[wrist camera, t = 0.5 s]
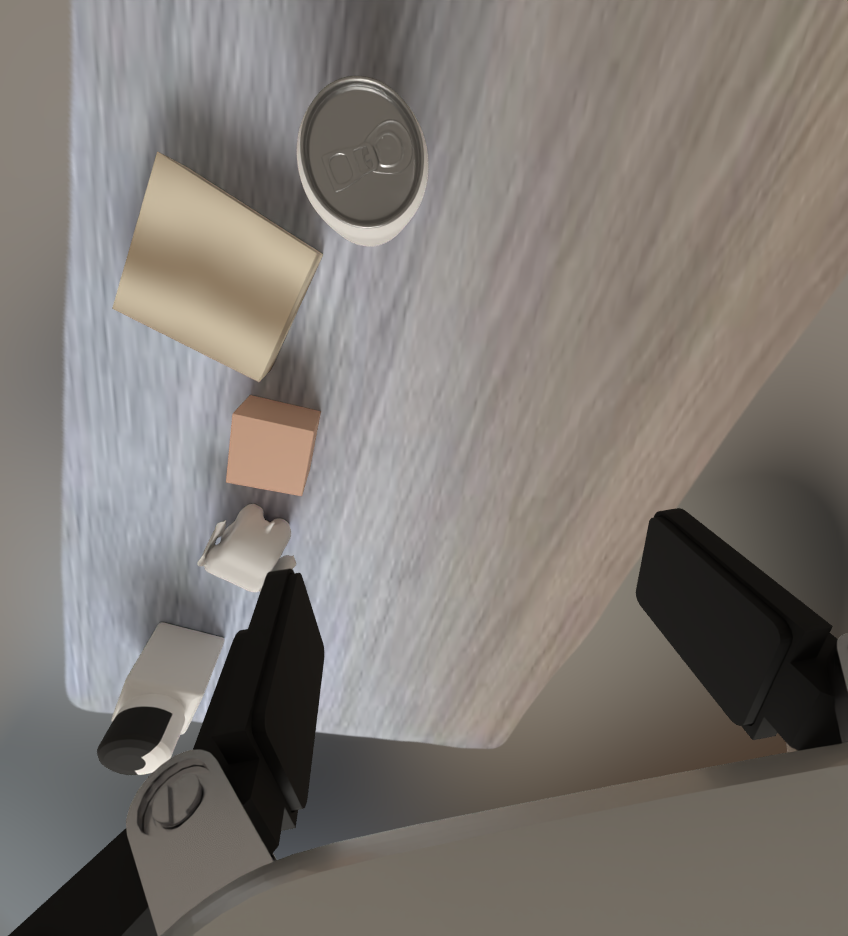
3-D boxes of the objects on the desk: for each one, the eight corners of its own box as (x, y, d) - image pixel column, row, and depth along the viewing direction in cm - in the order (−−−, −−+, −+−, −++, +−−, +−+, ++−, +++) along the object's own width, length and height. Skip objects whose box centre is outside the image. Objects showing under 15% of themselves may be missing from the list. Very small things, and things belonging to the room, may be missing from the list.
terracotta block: (250, 394, 35) (232, 413, 30) (321, 410, 36) (313, 431, 31) (243, 456, 37) (226, 482, 33) (309, 469, 38) (301, 496, 34)
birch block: (185, 165, 27) (157, 151, 24) (323, 254, 30) (316, 253, 27) (142, 303, 30) (112, 308, 27) (270, 369, 34) (259, 382, 30)
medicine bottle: (144, 661, 47) (77, 778, 36) (160, 620, 44) (93, 732, 34) (208, 675, 49) (162, 789, 38) (226, 636, 47) (183, 747, 36)
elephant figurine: (196, 545, 41) (164, 597, 34) (246, 478, 38) (221, 521, 32) (265, 578, 43) (247, 632, 37) (316, 518, 41) (306, 564, 34)
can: (424, 227, 30) (451, 207, 20) (344, 260, 31) (330, 259, 20) (390, 122, 27) (402, 33, 17) (303, 161, 28) (261, 98, 17)
